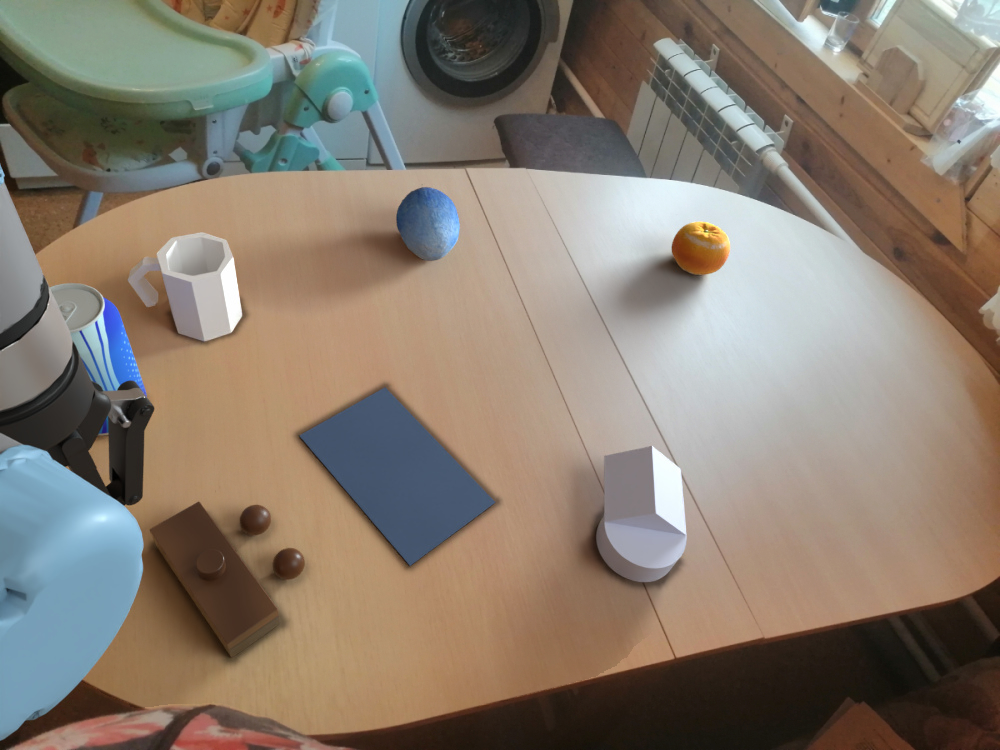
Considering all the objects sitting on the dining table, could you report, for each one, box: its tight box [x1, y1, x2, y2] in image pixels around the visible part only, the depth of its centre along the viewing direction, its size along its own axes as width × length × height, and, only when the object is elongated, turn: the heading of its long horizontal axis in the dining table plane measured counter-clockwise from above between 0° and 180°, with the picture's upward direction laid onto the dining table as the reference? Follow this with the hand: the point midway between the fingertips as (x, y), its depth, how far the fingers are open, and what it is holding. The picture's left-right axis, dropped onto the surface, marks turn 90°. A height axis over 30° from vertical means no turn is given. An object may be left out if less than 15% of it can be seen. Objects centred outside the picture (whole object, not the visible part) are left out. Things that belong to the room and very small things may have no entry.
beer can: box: [49, 282, 148, 436], centre depth 73 cm, size 8×8×16 cm
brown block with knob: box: [149, 501, 281, 658], centre depth 67 cm, size 5×14×5 cm, turn 43°
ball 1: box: [239, 504, 272, 536], centre depth 72 cm, size 3×3×3 cm
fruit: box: [671, 221, 731, 276], centre depth 110 cm, size 8×8×8 cm
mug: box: [127, 231, 243, 342], centre depth 86 cm, size 12×9×10 cm
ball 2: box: [272, 547, 306, 581], centre depth 70 cm, size 3×3×3 cm
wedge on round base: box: [595, 445, 688, 583], centre depth 78 cm, size 9×7×13 cm
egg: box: [395, 184, 461, 262], centre depth 103 cm, size 9×9×15 cm
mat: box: [298, 386, 496, 567], centre depth 81 cm, size 12×20×1 cm, turn 43°
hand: (110, 561), depth 55 cm, fingers closed
